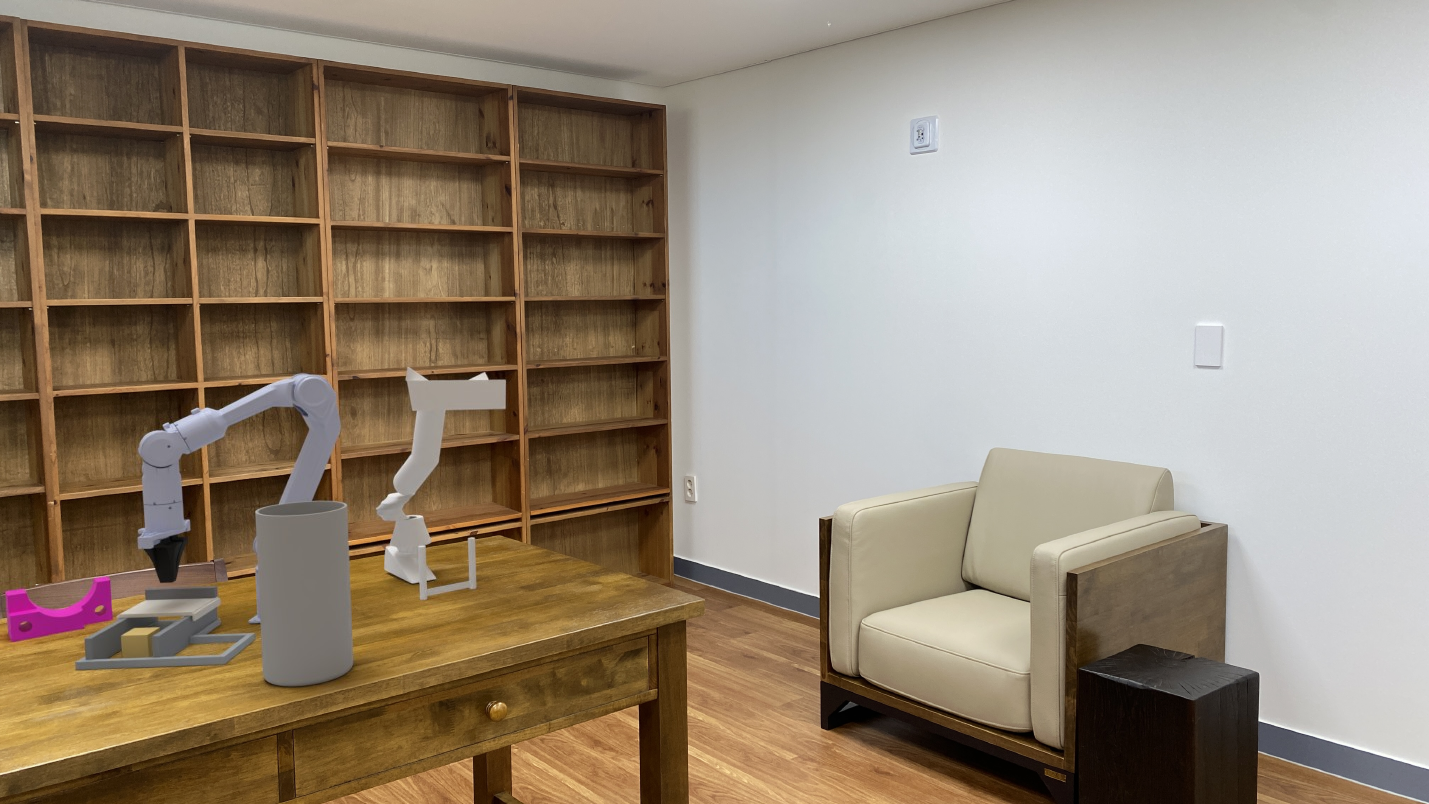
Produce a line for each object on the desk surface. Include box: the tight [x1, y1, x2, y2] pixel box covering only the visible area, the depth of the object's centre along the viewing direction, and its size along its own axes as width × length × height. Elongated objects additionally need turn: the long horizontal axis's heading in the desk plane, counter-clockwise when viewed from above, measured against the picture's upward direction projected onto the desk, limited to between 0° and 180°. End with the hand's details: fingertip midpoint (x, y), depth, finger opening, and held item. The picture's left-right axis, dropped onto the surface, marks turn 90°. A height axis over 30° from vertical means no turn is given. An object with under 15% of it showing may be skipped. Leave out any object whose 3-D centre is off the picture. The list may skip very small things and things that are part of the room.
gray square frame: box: [74, 606, 256, 671], centre depth 160 cm, size 22×22×4 cm
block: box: [121, 627, 160, 658], centre depth 155 cm, size 4×4×4 cm
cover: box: [116, 585, 222, 621], centre depth 165 cm, size 12×10×3 cm
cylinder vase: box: [254, 500, 354, 687], centre depth 145 cm, size 12×12×25 cm
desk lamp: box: [375, 366, 507, 601], centre depth 188 cm, size 38×18×45 cm, turn 42°
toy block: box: [4, 575, 113, 643], centre depth 170 cm, size 15×6×8 cm, turn 131°
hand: (168, 581), depth 164 cm, fingers closed
